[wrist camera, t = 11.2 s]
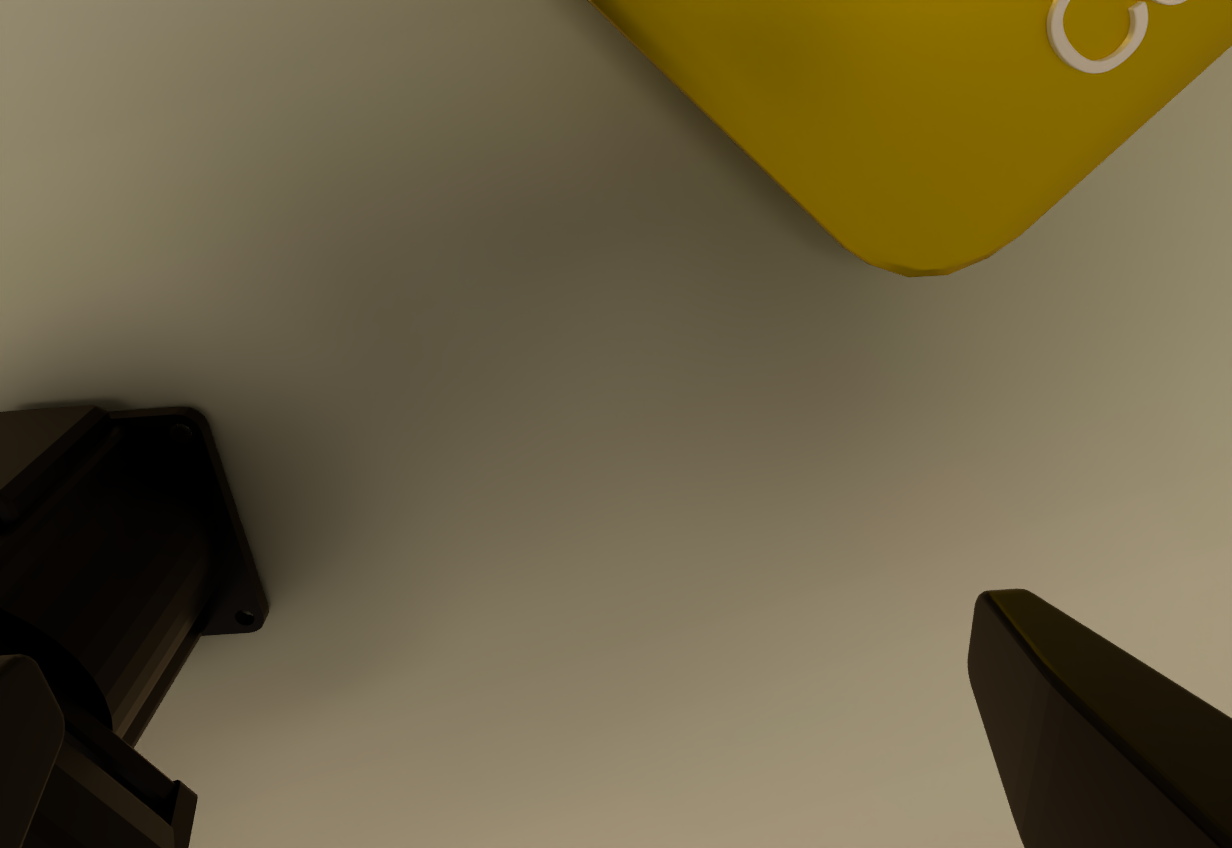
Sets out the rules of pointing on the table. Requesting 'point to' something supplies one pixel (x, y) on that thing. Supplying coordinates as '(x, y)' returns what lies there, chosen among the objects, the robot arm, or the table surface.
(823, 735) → the table surface
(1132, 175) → the table surface
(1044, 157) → the element tile
